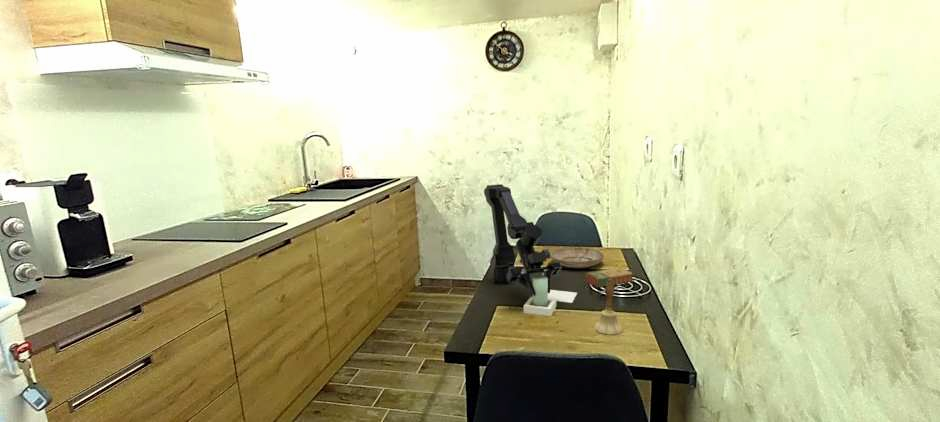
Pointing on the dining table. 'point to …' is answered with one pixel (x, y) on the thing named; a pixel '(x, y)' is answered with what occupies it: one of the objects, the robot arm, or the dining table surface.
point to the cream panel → (562, 296)
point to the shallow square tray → (540, 308)
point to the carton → (609, 277)
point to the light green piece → (540, 291)
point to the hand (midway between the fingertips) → (542, 294)
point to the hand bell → (608, 314)
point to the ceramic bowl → (577, 257)
